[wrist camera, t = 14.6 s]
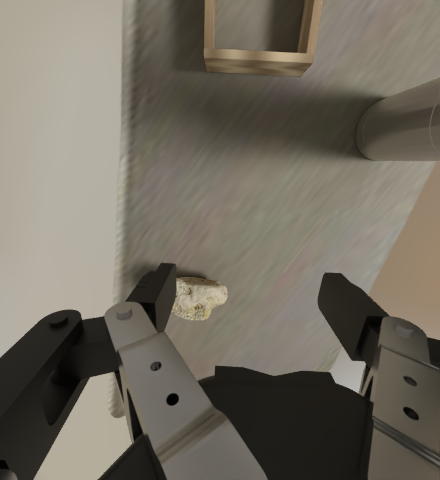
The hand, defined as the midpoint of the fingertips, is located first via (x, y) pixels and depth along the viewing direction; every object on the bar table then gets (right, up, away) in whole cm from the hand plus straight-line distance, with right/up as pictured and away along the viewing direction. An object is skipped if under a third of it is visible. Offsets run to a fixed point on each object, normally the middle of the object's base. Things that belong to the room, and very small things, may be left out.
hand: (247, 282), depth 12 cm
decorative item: (-6, -6, +35) cm, 36 cm away
